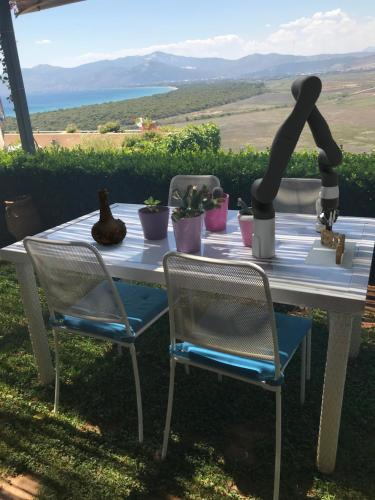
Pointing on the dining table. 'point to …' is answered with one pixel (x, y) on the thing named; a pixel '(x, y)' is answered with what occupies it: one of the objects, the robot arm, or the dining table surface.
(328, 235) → the fence gate
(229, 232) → the dining table surface
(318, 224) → the plastic bottle
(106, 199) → the brown long-necked vase
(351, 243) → the card
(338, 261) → the fence fixed
